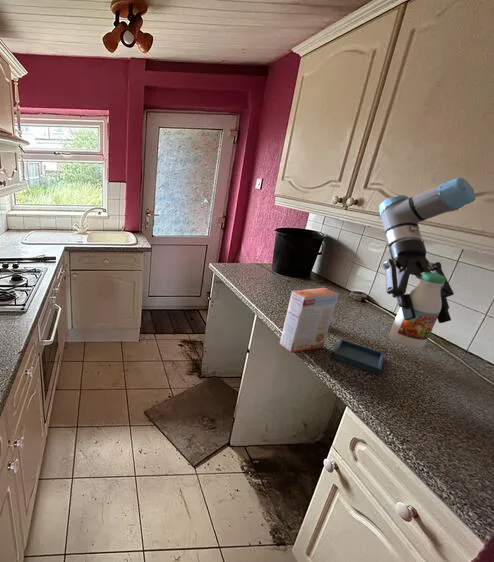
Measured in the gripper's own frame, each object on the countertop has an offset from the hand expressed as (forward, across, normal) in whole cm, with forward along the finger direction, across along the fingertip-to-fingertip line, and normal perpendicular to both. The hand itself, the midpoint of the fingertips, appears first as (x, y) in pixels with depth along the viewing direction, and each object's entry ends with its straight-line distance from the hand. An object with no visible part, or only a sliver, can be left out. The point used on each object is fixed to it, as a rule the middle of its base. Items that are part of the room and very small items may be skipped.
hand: (427, 320), depth 81 cm
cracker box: (+3, -18, +30) cm, 35 cm away
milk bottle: (+4, 0, +9) cm, 9 cm away
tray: (+5, -2, +27) cm, 27 cm away
